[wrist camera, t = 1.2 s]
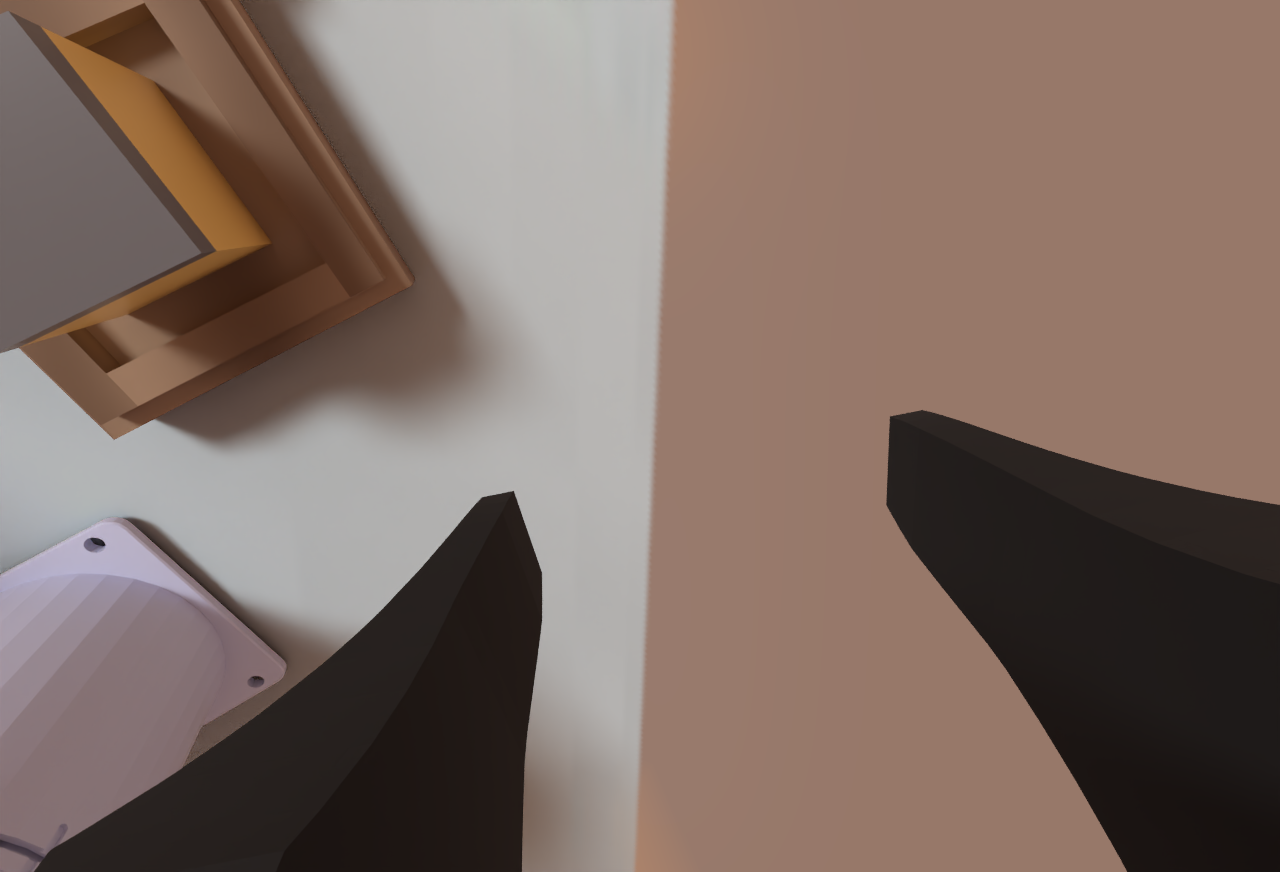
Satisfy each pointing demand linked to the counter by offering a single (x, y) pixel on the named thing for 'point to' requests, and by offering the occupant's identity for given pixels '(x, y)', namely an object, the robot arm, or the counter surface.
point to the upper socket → (263, 180)
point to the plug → (99, 191)
